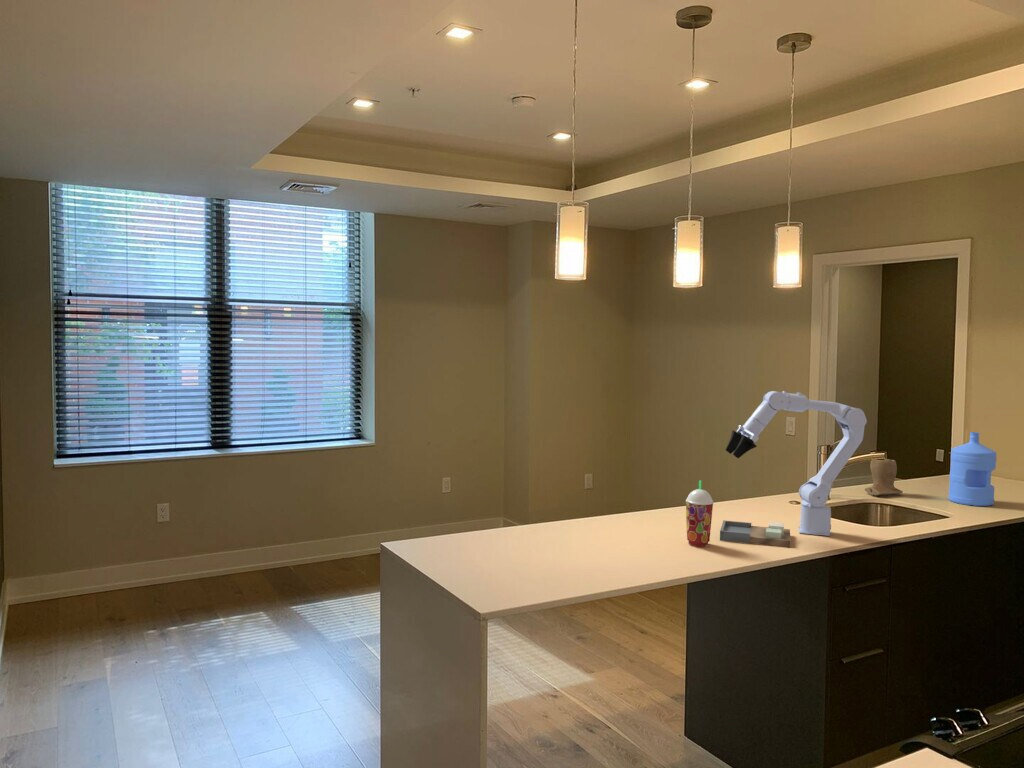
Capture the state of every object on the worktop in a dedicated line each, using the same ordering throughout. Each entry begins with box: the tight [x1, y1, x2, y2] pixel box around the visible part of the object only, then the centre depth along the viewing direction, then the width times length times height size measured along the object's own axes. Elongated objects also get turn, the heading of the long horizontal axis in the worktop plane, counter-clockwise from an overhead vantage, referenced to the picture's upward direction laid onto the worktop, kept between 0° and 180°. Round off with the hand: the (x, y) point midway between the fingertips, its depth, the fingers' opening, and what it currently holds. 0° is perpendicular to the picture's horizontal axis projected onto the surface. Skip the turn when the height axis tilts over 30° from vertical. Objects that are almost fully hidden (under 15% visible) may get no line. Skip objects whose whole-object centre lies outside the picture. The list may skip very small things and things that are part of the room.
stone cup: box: [864, 458, 903, 497], centre depth 320 cm, size 15×12×15 cm
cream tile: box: [768, 522, 785, 535], centre depth 248 cm, size 4×4×2 cm
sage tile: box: [766, 528, 781, 539], centre depth 243 cm, size 4×4×2 cm
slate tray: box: [719, 520, 752, 544], centre depth 250 cm, size 9×15×3 cm, turn 161°
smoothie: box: [685, 479, 714, 548], centre depth 239 cm, size 8×8×20 cm
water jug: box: [948, 431, 997, 507], centre depth 307 cm, size 16×16×28 cm
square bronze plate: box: [749, 525, 792, 548], centre depth 247 cm, size 12×15×2 cm
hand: (731, 454), depth 255 cm, fingers open, 7 cm apart
